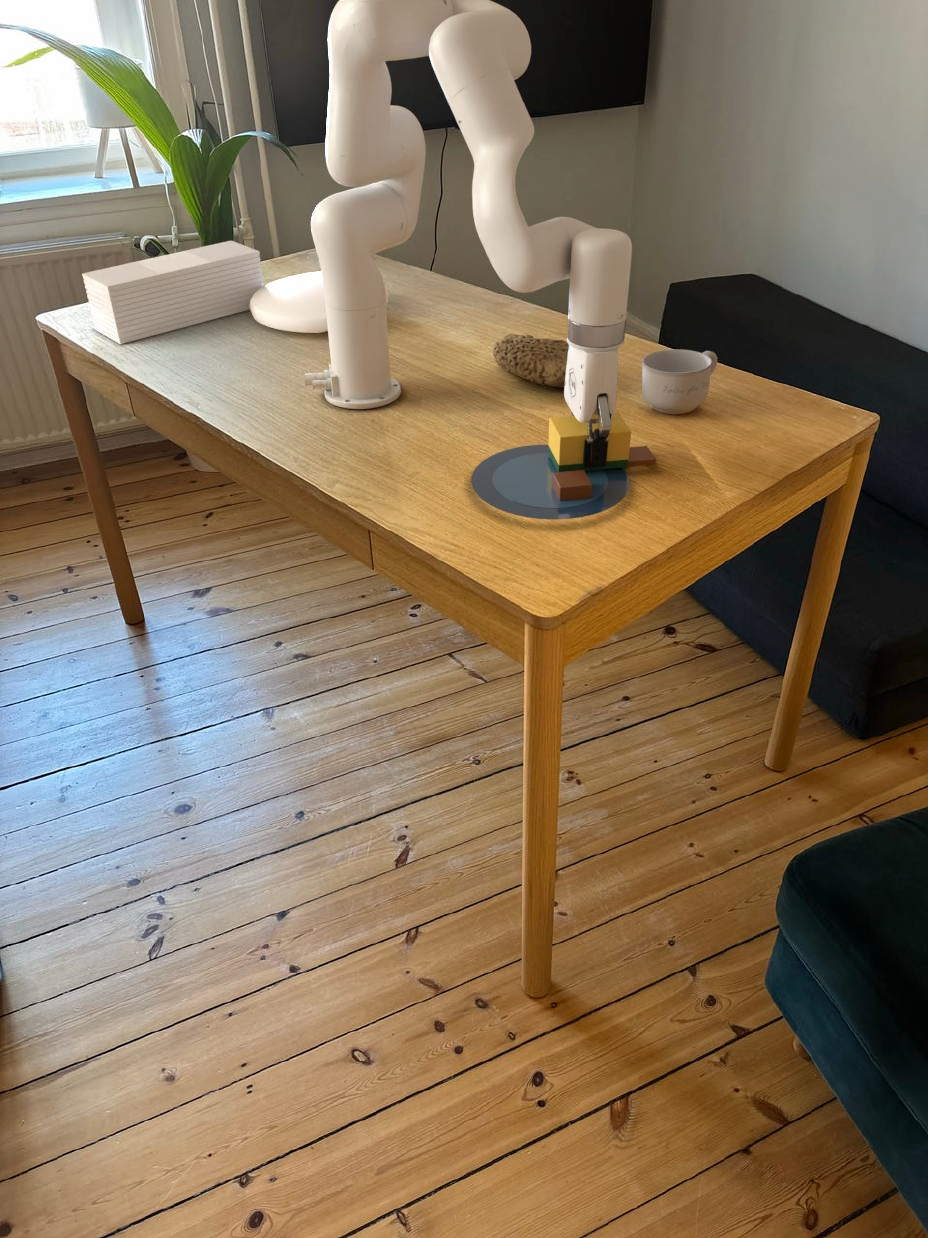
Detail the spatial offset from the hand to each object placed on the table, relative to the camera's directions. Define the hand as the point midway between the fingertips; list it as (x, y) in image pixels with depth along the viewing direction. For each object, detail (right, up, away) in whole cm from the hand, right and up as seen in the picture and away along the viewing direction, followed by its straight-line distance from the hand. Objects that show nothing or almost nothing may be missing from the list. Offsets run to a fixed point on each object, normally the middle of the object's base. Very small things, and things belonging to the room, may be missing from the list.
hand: (587, 453), depth 139 cm
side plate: (-6, -5, -2) cm, 8 cm away
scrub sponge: (0, -1, +1) cm, 1 cm away
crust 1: (-3, -6, -6) cm, 9 cm away
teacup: (+17, +11, +19) cm, 28 cm away
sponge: (-3, +17, +28) cm, 33 cm away
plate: (-46, +37, +57) cm, 82 cm away
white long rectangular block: (-73, +36, +56) cm, 99 cm away
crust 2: (+7, -1, +3) cm, 8 cm away
